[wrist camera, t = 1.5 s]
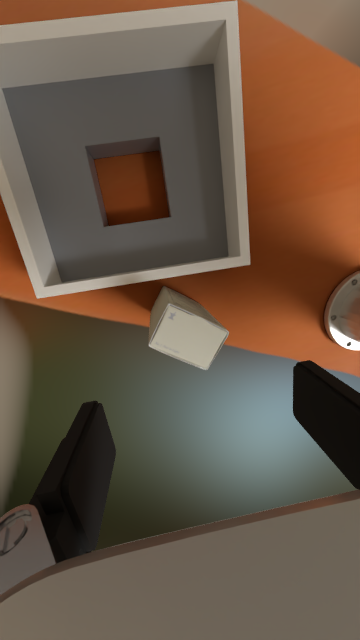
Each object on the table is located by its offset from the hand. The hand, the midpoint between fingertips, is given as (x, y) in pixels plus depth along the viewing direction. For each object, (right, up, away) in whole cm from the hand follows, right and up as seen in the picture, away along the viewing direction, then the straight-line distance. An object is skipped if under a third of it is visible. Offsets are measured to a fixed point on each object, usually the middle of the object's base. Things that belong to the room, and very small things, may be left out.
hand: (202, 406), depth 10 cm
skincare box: (-2, +6, +20) cm, 21 cm away
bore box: (-7, +20, +15) cm, 26 cm away
